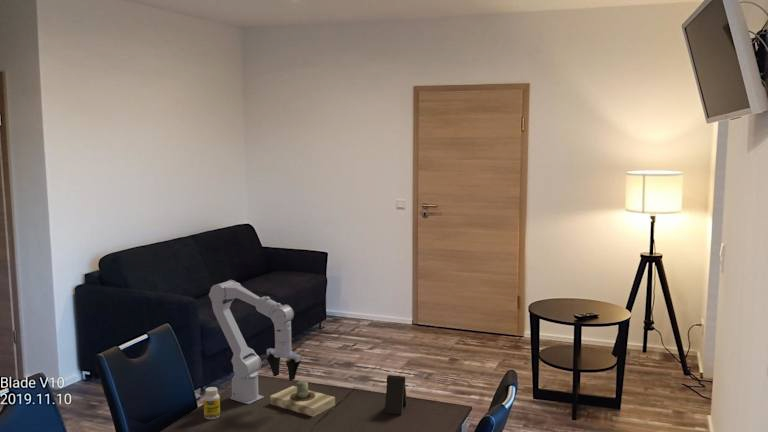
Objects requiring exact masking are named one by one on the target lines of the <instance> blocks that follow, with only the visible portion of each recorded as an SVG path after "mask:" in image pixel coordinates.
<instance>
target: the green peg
mask: <svg viewBox="0 0 768 432" xmlns="http://www.w3.org/2000/svg"><path fill="white" fill-rule="evenodd" d="M296 387H297V399H307V398H308V390H309V383H308V381H307V380H300V381H297V382H296Z"/></svg>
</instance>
